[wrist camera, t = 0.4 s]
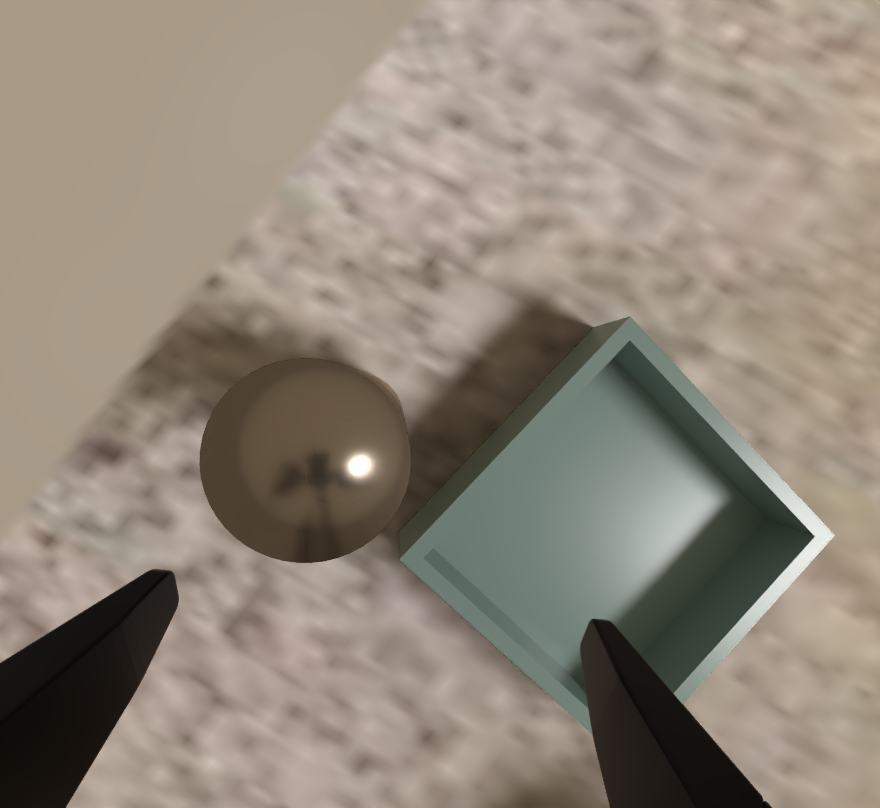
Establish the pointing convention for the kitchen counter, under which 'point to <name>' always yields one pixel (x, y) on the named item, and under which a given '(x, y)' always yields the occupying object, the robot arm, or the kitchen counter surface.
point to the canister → (306, 459)
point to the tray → (613, 523)
